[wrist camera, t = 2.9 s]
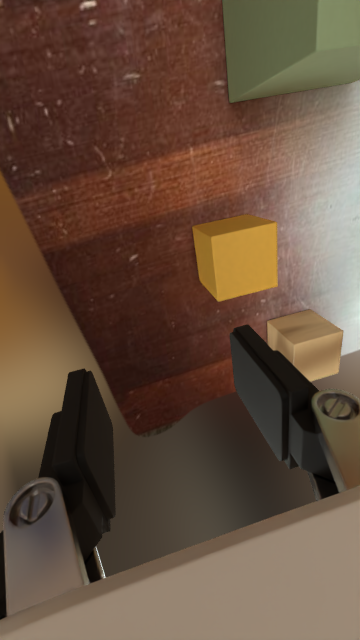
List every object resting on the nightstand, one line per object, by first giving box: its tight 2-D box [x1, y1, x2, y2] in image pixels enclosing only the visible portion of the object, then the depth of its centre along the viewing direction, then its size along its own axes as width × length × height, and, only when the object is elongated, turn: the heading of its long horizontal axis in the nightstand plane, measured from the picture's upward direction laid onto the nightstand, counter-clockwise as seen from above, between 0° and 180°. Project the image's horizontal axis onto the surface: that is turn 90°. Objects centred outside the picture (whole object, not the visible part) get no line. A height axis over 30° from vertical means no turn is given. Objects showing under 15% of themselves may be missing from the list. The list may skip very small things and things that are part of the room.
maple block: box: [267, 309, 343, 382], centre depth 30 cm, size 5×5×5 cm
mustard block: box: [192, 214, 277, 301], centre depth 24 cm, size 5×5×5 cm
